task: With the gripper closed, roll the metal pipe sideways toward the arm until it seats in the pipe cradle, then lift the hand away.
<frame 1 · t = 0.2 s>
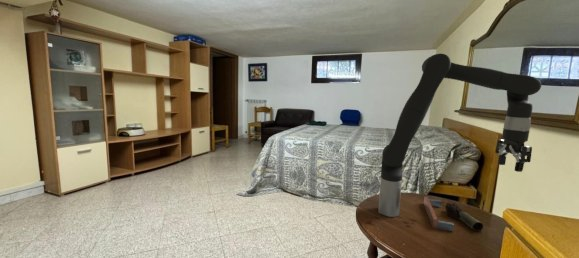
hand: (509, 167, 95), 28 cm above the table, tool pointing down, fingers open, 8 cm apart
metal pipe: (459, 220, 108), on the table
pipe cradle: (438, 216, 111), on the table
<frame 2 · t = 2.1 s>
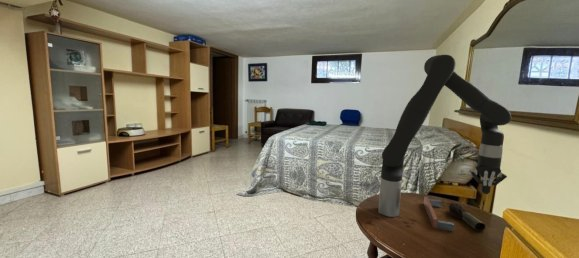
hand: (485, 193, 103), 14 cm above the table, tool pointing down, fingers closed
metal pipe: (462, 220, 108), on the table
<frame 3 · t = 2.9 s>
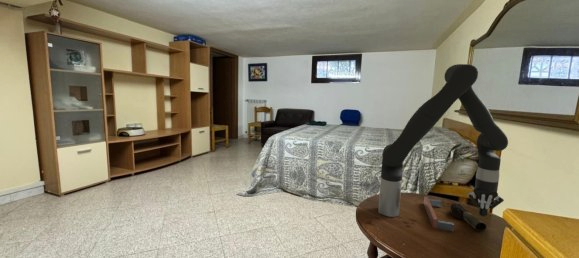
hand: (482, 215, 104), 4 cm above the table, tool pointing down, fingers closed
nothing on the table moved.
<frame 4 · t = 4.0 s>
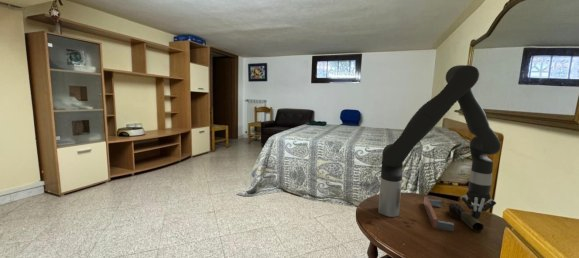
hand: (475, 218, 105), 2 cm above the table, tool pointing down, fingers closed
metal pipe: (461, 221, 108), on the table
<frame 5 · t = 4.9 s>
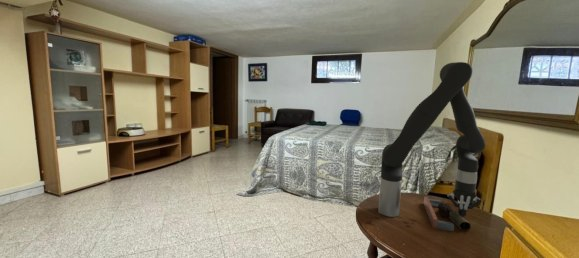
hand: (461, 216, 107), 2 cm above the table, tool pointing down, fingers closed
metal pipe: (449, 220, 108), on the table, touching gripper
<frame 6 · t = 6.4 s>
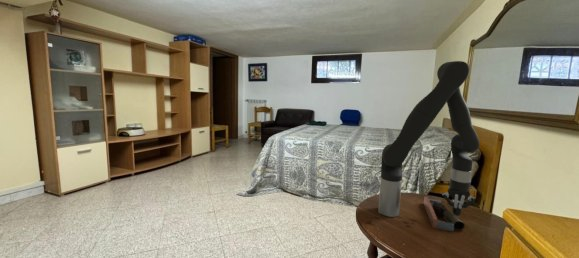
hand: (456, 214, 108), 2 cm above the table, tool pointing down, fingers closed
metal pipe: (444, 219, 108), on the table
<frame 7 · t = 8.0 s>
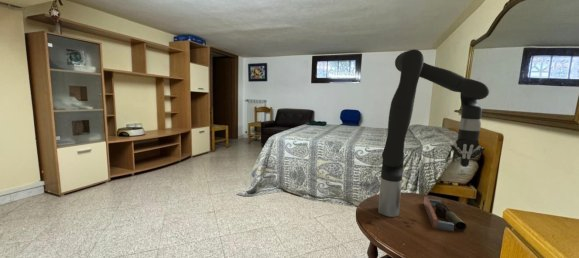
hand: (464, 166, 107), 25 cm above the table, tool pointing down, fingers closed
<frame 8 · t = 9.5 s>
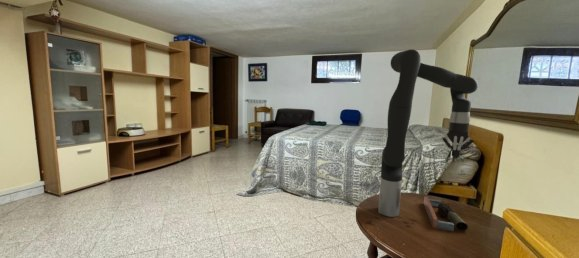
hand: (455, 157, 113), 27 cm above the table, tool pointing down, fingers closed
at the end: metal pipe inside the target area (3.8 cm from its centre), on the table; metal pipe moved 4.5 cm from its start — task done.
